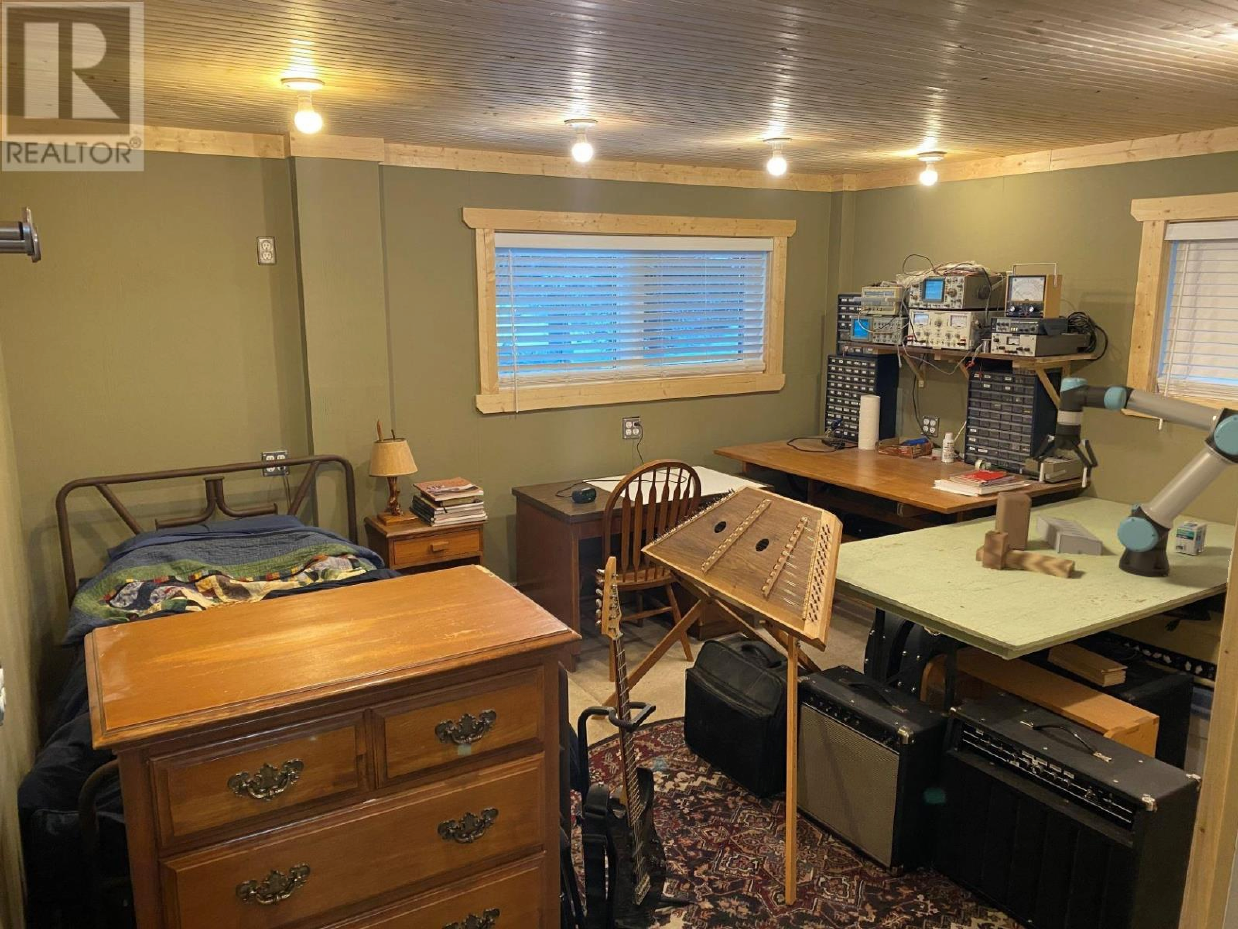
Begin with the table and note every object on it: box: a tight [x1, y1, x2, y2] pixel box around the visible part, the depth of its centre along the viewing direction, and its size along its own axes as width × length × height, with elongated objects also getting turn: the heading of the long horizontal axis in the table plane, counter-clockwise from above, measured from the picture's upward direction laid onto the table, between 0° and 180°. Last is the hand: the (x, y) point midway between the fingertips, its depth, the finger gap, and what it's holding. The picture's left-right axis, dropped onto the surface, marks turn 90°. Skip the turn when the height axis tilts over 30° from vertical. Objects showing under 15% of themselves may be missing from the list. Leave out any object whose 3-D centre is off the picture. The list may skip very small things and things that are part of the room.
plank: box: [975, 544, 1076, 579], centre depth 305 cm, size 30×9×4 cm, turn 51°
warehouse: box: [1035, 514, 1103, 556], centre depth 334 cm, size 30×14×8 cm, turn 170°
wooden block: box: [994, 491, 1033, 551], centre depth 328 cm, size 10×10×20 cm
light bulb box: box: [1173, 519, 1208, 556], centre depth 325 cm, size 11×7×11 cm, turn 129°
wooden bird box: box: [981, 528, 1010, 571], centre depth 306 cm, size 6×15×13 cm, turn 141°
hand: (1062, 483), depth 304 cm, fingers open, 13 cm apart
